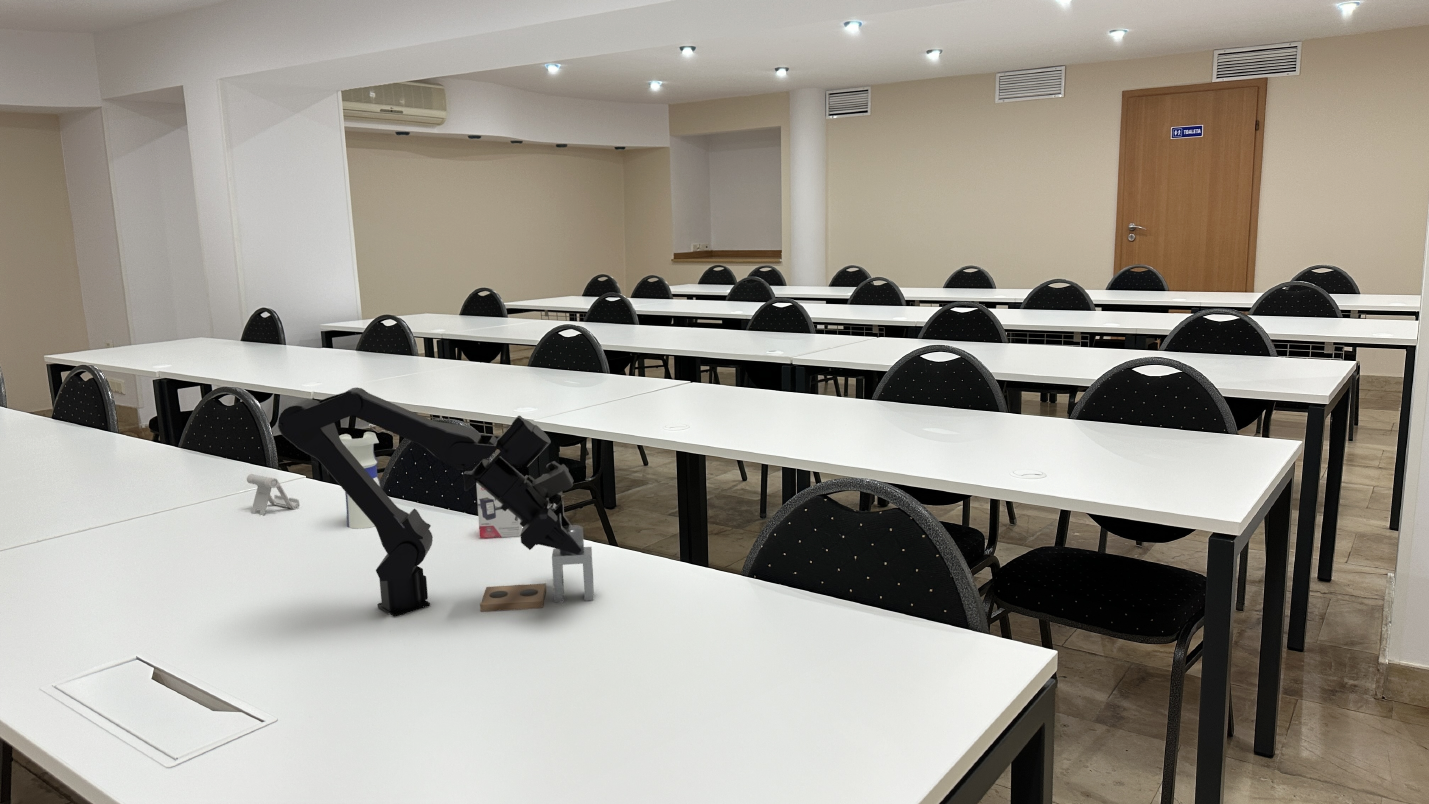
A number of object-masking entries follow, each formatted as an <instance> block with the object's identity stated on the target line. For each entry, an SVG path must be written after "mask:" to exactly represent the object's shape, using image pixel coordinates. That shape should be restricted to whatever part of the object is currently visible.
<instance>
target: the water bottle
mask: <svg viewBox="0 0 1429 804" xmlns="http://www.w3.org/2000/svg"><path fill="white" fill-rule="evenodd" d="M360 420H361V419H359V418H358V421H360ZM361 421H362V420H361ZM339 437H340V440H341V441H342V443H343V444H344V445H345V447H346V448H347V449H348V450H349V451H350V452H351V454H352V455H353V456H354V457H355V458H356V459H357V461H358V462H359V463H360V464H361V465H362V466H363V468H364V469H365V470H366V471H367V472H368V473H369V475H370V476H371V477H372V478H373V479H374V481H375V482H376V483H377V484H378V485H379V486H380V488H381V486H382V485H381V482H380V479H379V476H378V470H377V469H378V468H377V464H378V462H379V460H378V459H377V457H376V455H375V451H374V450H375V448H374V447H375V444H379V443H380V442H379V440H378V438H377V435H376V433H375V432H372V431H366V432H364V433H363V437H361V438H360V437H359V438H352V436H351V435H350V434H348V433H344V434H341V435H339ZM381 489H382V488H381ZM344 493H345V505H346V507H345V508H346V525H347V527H348V528H350V529H357V530H358V528H360V530H361V528H362V529H369V528H370V529H371V528H376V527H375V525H374V524H373V523H372V522H371V521H370V520H369V518H368V517H367V516H366V515H365V514H364V513H363V511H362V510H361V509H360V508H359V507H358V506H357V505H356V503H355V502H354V501H353V500H352V499H351V498H350V496H349V495H348V494H347V493H346V492H345V491H344Z"/></svg>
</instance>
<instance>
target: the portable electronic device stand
mask: <svg viewBox="0 0 1429 804" xmlns="http://www.w3.org/2000/svg"><path fill="white" fill-rule="evenodd" d="M246 482H247V483H248V484H252V485H255V486H257V487H256V488H257V489H256V492H255V496H254V500H253V503H252V507H251V510H250V512H251V514H252V515H253V514H254V515H255V514H256V513H257V511H258V510H259V511H260V512H259V516H261V515H264V516H265V515H266V511H267V507H268V503H269V504H270V505H272V506H278V507H284V508H287V509H290V510H298V509H299V507H300V506H301V505H300V501H299V499H298V498H294V497H288V496H287V494H286V492H285V490H284V489H283V487H282V485H281V483H280V481H279V480H278V479H277V478H275V477H274V478H273V477H270V476H269V477H268V476H264V475H259V474H254V473H251V474H248V475H247V477H246ZM275 488H276V490H277V491H278V493H279V494H280V495H279V494H274V498H273V496H272V495H271V492H272V489H275Z"/></svg>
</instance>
